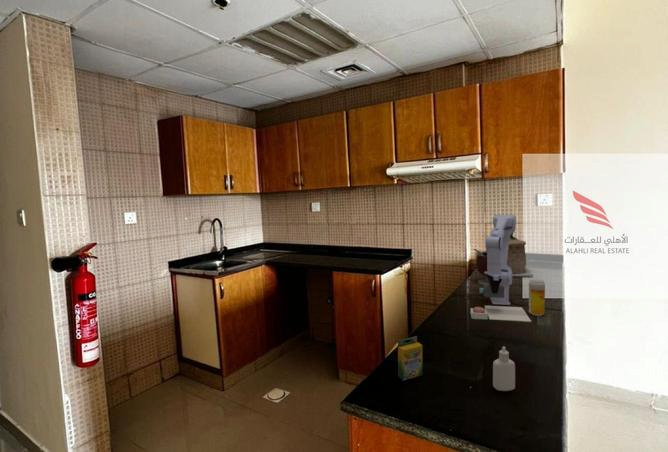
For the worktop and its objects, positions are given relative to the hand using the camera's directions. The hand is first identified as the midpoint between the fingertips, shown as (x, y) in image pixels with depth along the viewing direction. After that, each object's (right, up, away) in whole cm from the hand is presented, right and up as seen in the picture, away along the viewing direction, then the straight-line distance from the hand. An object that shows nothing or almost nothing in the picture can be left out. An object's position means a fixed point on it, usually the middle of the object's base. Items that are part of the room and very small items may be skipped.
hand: (494, 292), depth 160 cm
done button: (-9, -8, -5) cm, 13 cm away
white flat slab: (+4, -9, -3) cm, 10 cm away
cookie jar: (+42, -1, +70) cm, 82 cm away
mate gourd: (+19, -4, +49) cm, 53 cm away
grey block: (0, -2, 0) cm, 2 cm away
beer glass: (+16, -9, -5) cm, 19 cm away
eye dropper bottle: (-25, -16, -61) cm, 67 cm away
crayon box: (-49, -16, -52) cm, 74 cm away
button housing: (-9, -10, -5) cm, 14 cm away
